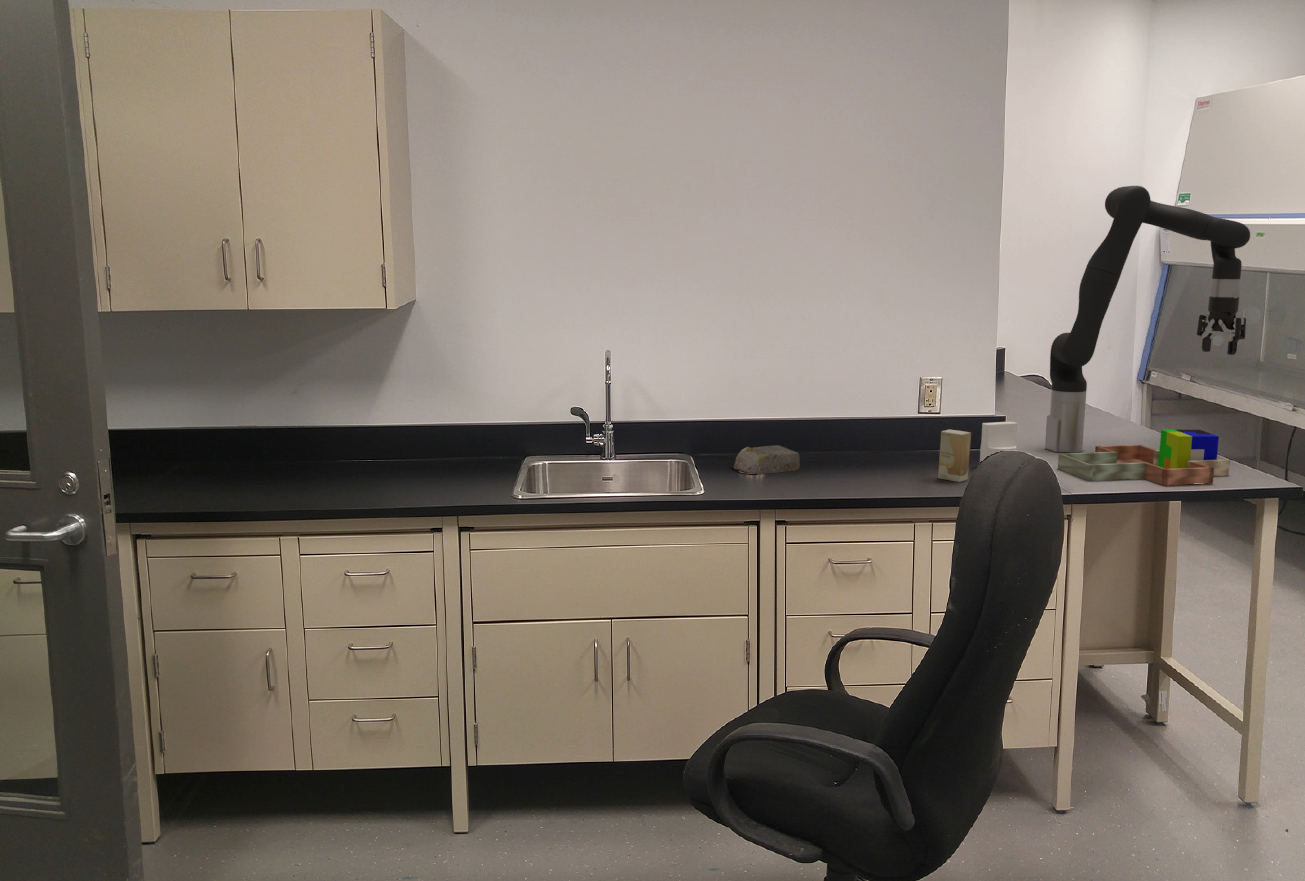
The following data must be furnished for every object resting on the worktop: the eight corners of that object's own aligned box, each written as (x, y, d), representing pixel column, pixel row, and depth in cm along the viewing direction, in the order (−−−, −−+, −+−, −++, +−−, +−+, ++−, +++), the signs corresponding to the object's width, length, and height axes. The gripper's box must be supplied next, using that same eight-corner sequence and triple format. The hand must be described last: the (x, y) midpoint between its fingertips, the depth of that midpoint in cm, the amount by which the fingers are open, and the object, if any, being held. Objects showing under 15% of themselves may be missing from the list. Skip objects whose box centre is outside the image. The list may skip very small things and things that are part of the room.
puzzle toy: (1215, 475, 273) (1218, 436, 271) (1175, 475, 273) (1178, 436, 271) (1196, 466, 283) (1199, 429, 281) (1158, 466, 283) (1161, 429, 281)
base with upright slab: (992, 472, 277) (994, 426, 275) (972, 465, 285) (975, 421, 283) (1022, 470, 279) (1025, 425, 277) (1002, 463, 288) (1005, 419, 285)
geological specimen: (802, 451, 281) (754, 454, 274) (801, 474, 282) (752, 477, 275) (780, 444, 290) (732, 446, 283) (778, 466, 291) (731, 468, 284)
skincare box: (937, 478, 270) (939, 430, 268) (946, 476, 273) (948, 428, 271) (960, 482, 265) (962, 434, 263) (969, 479, 268) (971, 431, 266)
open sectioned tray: (1106, 488, 258) (1107, 472, 258) (1042, 462, 289) (1043, 448, 288) (1250, 482, 264) (1251, 466, 263) (1172, 457, 294) (1173, 443, 293)
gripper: (1193, 294, 306) (1188, 351, 308) (1235, 296, 292) (1229, 356, 295) (1213, 294, 308) (1208, 350, 311) (1256, 296, 295) (1250, 355, 298)
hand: (1218, 353), depth 303 cm, fingers open, 8 cm apart
